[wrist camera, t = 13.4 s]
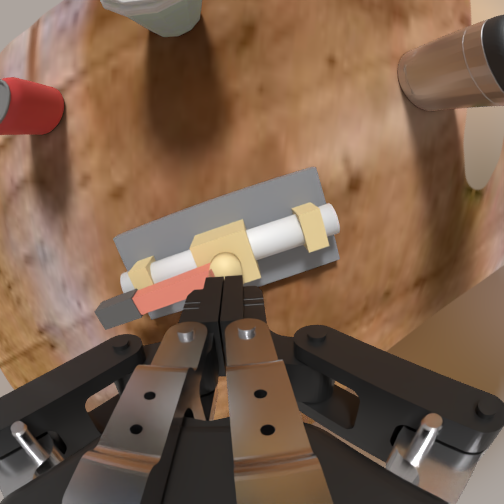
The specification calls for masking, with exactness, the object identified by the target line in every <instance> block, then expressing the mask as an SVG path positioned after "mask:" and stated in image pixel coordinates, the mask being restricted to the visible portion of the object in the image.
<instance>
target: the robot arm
mask: <svg viewBox="0 0 504 504" xmlns="http://www.w3.org/2000/svg"><path fill="white" fill-rule="evenodd" d="M398 78H399V83H400V85H401V88H402V90H403V92H404V93H405V95H406V96H407V98H408V99H409V100H410V101H411V102H412V103H413V104H414V105H415V106H417V107H419V108H420V109H423V110H426V111H437V110H448V109H459V108H471V107H487V106H504V15H500V16H496V17H494V18H491V19H488V20H485V21H482V22H480V23H477V24H474V25H471V26H469V27H466V28H463V29H461V30H458V31H456V32H453V33H451V34H448V35H446V36H443V37H441V38H438V39H436V40H434V41H431V42H429V43H427V44H424V45H422V46H420V47H417V48H415V49H413V50H411V51H408V52H407V53H405V54H404V55H403V56H402V57H401V59H400V61H399V64H398ZM226 374H227V388H228V401H229V414H230V417H227V418H222V419H218V420H213V419H214V414H215V408H216V402H217V397H218V388H217V384H218V376H226ZM335 381H337V382H339V383H341V384H343V385H344V386H346V387H348V388H350V389H352V390H353V391H355V392H356V394H357V395H358V396H359V397H357V396H355V395H354V394H352V393H350V392H348V391H346V390H344V389H342V388H340V387H339V386H337V385H335V384H334V383H335ZM113 382H114V383H115V385H116V388H117V390H118V392H119V394H118V395H116V396H114V397H113V398H111V399H110V400H108V401H106V402H105V403H103V404H102V405H100V406H98V407H97V408H95V409H94V410H92V411H90V412H87V411H86V409H85V403H86V401H87V399H88V398H89V397H90V396H92V395H94V394H95V393H97V392H99V391H100V390H102V389H103V388H105V387H107V386H108V385H110V384H112V383H113ZM299 411H301V412H302V413H304V414H305V415H307V416H308V417H310V418H311V419H313V420H314V421H316V422H318V423H319V424H321V425H322V426H324V427H326V428H327V429H329V430H330V431H332V432H334V433H335V434H337V435H339V436H340V437H342V438H343V439H345V440H347V441H349V442H350V443H352V444H354V445H355V446H357V447H359V448H361V449H362V450H364V451H366V452H368V453H369V454H371V455H373V456H375V457H377V458H379V459H380V460H382V461H384V462H386V468H384V467H382V466H380V465H379V464H377V463H376V462H374V461H372V460H371V459H369V458H367V457H366V456H364V455H362V454H361V453H359V452H358V451H356V450H354V449H353V448H351V447H350V446H348V445H347V444H345V443H344V442H342V441H341V440H339V439H337V438H336V437H334V436H333V435H331V434H330V433H328V432H327V431H325V430H323V429H321V428H319V427H316V426H314V425H311V424H308V423H304V422H303V421H302V418H301V415H300V412H299ZM503 426H504V403H503V402H502V401H501V400H500V399H499V398H498V397H496V396H495V395H492V394H490V393H487V392H485V391H482V390H479V389H477V388H474V387H471V386H469V385H466V384H464V383H461V382H459V381H456V380H453V379H451V378H448V377H446V376H443V375H441V374H438V373H436V372H433V371H431V370H429V369H426V368H423V367H421V366H419V365H416V364H414V363H411V362H409V361H407V360H404V359H401V358H399V357H397V356H395V355H392V354H390V353H388V352H385V351H383V350H381V349H378V348H376V347H374V346H371V345H369V344H367V343H364V342H362V341H360V340H357V339H355V338H353V337H351V336H348V335H346V334H344V333H342V332H339V331H337V330H335V329H332V328H330V327H327V326H323V325H310V326H306V327H303V328H301V329H299V330H298V331H297V332H296V333H295V334H294V337H287V336H281V335H278V334H275V333H274V332H272V331H271V330H270V329H269V327H268V325H267V322H266V315H265V308H264V301H263V294H262V290H260V289H259V288H258V287H257V286H243V275H235V276H225V279H224V276H221V277H206V279H205V283H204V288H203V289H197V290H193V291H192V292H191V293H190V294H189V295H188V296H187V298H186V301H185V304H184V307H183V310H182V314H181V317H180V320H179V323H178V324H176V325H174V326H172V327H170V328H169V329H168V330H167V331H166V333H165V335H164V337H163V339H162V342H159V343H154V344H150V345H145V346H143V344H142V341H141V339H140V338H139V337H138V336H135V335H131V334H123V335H118V336H115V337H113V338H111V339H109V340H107V341H105V342H103V343H101V344H100V345H98V346H96V347H94V348H92V349H90V350H88V351H87V352H85V353H83V354H81V355H79V356H77V357H75V358H74V359H72V360H70V361H68V362H66V363H64V364H62V365H61V366H59V367H57V368H55V369H53V370H51V371H49V372H47V373H46V374H44V375H42V376H40V377H38V378H36V379H34V380H32V381H31V382H29V383H27V384H25V385H23V386H21V387H19V388H17V389H16V390H14V391H12V392H10V393H8V394H6V395H4V396H2V397H1V398H0V489H1V492H2V494H3V496H4V499H3V500H2V501H1V503H0V504H456V503H457V501H458V499H459V498H460V496H461V494H462V492H463V490H464V489H465V487H466V485H467V483H468V481H469V479H470V477H471V475H472V473H473V471H474V469H475V467H476V464H477V462H478V461H479V460H480V458H481V457H482V456H483V455H484V453H485V452H486V451H487V449H488V448H489V446H490V445H491V443H492V442H493V441H494V439H495V438H496V437H497V435H498V434H499V432H500V431H501V429H502V427H503Z"/></svg>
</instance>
